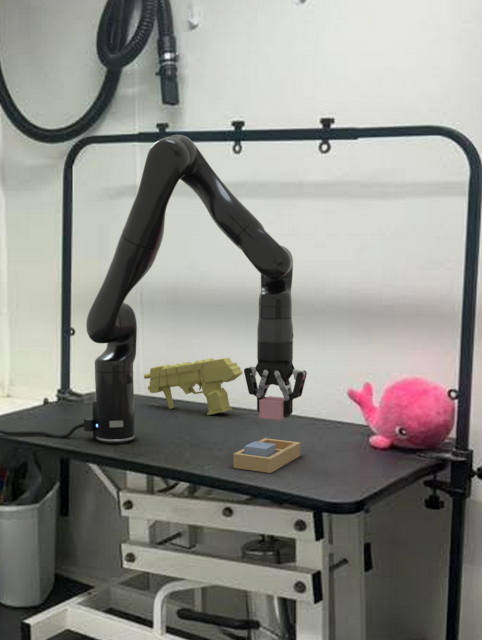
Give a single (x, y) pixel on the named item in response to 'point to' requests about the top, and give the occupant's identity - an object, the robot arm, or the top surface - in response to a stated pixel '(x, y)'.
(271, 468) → the pad holder
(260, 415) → the pink block
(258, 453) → the blue block
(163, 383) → the firearm
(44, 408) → the top surface
